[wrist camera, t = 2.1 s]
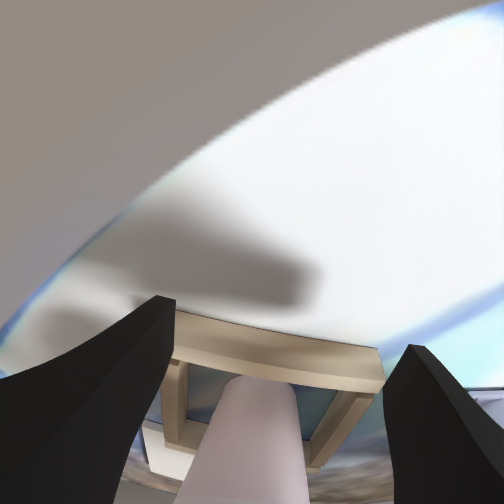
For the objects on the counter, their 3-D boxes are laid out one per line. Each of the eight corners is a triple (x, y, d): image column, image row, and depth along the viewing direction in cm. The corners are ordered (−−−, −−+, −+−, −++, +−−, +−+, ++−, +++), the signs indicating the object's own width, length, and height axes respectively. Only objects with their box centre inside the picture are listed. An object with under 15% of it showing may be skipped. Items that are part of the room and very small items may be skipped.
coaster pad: (266, 447, 17) (266, 455, 17) (247, 487, 21) (246, 493, 20) (144, 419, 17) (141, 426, 17) (152, 465, 21) (151, 471, 20)
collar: (377, 348, 13) (386, 381, 11) (316, 447, 17) (316, 474, 15) (174, 309, 13) (158, 339, 11) (173, 421, 17) (164, 447, 15)
